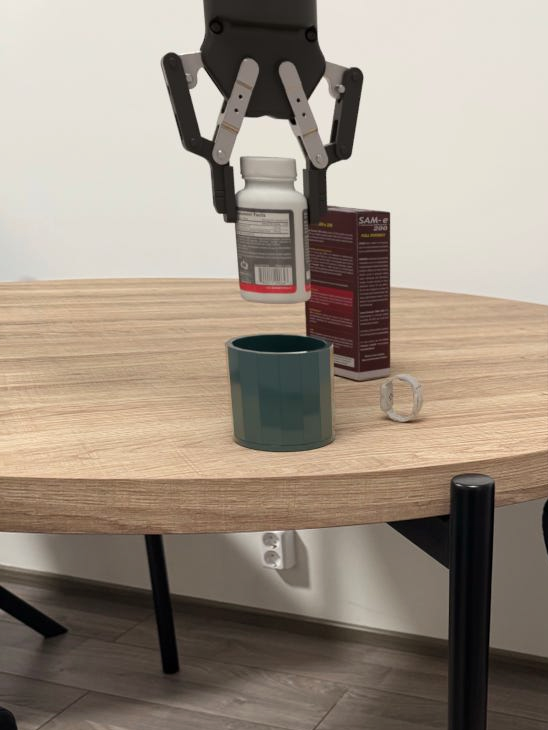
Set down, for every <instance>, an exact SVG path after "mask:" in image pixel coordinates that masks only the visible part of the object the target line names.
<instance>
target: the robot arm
mask: <svg viewBox="0 0 548 730" xmlns="http://www.w3.org/2000/svg"><path fill="white" fill-rule="evenodd" d="M202 5H203V6H202V7H203V15H204V16H203V18H204V36H203V40H202V43H201V45H200V47H199V50H198V51H192V52H185V53H176V52H173V51H172V52H171V51H170V52H167V53H165V54H164V55H163V56H162V57H161V59H160V68H161V71H162V75H163V80H164V83H165V86H166V90H167V94H168V98H169V100H170V105H171V109H172V113H173V116H174V120H175V123H176V124H175V125H176V128H177V131H178V134H179V139H180V142H181V145H182V148H183V149H184V150H185V151H187V152H188V153H191V154H194V155H196V156H199V157H200V158H202V159H204V160H205V161H206V162H207V163H208V166H209V169H210V182H211V184H210V185H211V195H212V205H213V208H214V210H215V212H216V214H219V215H222V217H223V222H224V223H226V224H235V223H237V215H236V200H235V194H236V187H235V173H234V171H235V169H234V166H233V165H231V162H230V159H231V157H232V156H231V155H232V153H233V150H234V147H235V143H236V141H237V137H238V134H239V133H240V131H241V128H242V125H243V121H244V118H249V119H250V118H252V119H257V118H262V117H268V118H271V119H274V120H283V121H286V120H287V122H288V124H289V126H290V129H291V132H292V133H293V135H294V137H295V139H296V140H297V143H298V145H299V149H300V151H301V153H302V156H303V158H304V160H305V168H302V191H303V193H302V194H303V195H304V196H305V198H306V200H307V206H308V225H319V217H325V215H326V212H327V205H328V185H327V172H328V169H329V168H330V166H331V165H333V164H336V163H338V162H341V161H347V160H349V159H350V158H351V156H352V155H353V149H354V142H355V137H356V130H357V123H358V118H359V110H360V104H361V97H362V90H363V85H364V79H365V78H364V72H363V71H362V70H361V68H359V67H357V66H350V67H346V66H343V65H340V64H336V63H334V62H330V61H326V58H325V55H324V54H323V53H324V52H322V49H321V46H320V41H319V33H318V32H319V30H318V29H319V28H318V0H202ZM202 68H203V70H204V71H205V73H206V74H207V76H208V77H209V79H210V80H211V81H212V83H213V84H214V85H215V87H216V88H217V91H219V93H220V95H221V96H222V97H223V100H222V103H221V106H220V110H219V113H218V116H217V118H216V119H217V120H216V124H215V127H214V128H215V129H214V131H213V135H212V138H211V140H210V139H208V138H206V137H204V136H202V133H201V130H200V127H199V121H198V120H197V119H198V118H197V114H196V112H195V106H194V103H193V99H192V95H191V91H190V90H193V89H194V88H196V87H197V85H198V72H199V71H200V69H202ZM322 79H325V80H326V82H327V85H328V86H327V87H328V94H329V96H330V97H331V98H332V99H334V100H335V101H334V108H333V115H332V121H331V129H330V135H329V142H328V143H325V144H324V143H323V141H322V138H321V135H320V133H319V130H318V129H319V128H318V124H317V121H316V119H315V116H314V113H313V111H312V109H311V106H310V103H309V100H310V99H311V97H312V95H313V94H314V92H315V90H316V89H317V87H318V85H320V83H321V81H322Z"/></svg>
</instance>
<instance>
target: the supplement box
mask: <svg viewBox="0 0 548 730" xmlns="http://www.w3.org/2000/svg"><path fill="white" fill-rule="evenodd" d="M308 235H309V261H310V284H311V297H310V299H309V300H307V301H305V302H304V314H305V316H304V317H305V335H307V336H314V337H319V338H322V339H326V340H329V341H330V342H331V343H332V344H333V356H334V376H335V375H337V376H339V377H343V378H348V379H351V380H355V381H358V382H360V381H368V380H369V381H370V380H374V379H375V380H376V379H380V378H385V377H390V376H391V212H390V211H384V210H375V209H365V208H356V207H345V206H339V205H328V204H327V212H326V215H325V217H319V225H308Z"/></svg>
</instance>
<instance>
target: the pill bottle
mask: <svg viewBox="0 0 548 730" xmlns="http://www.w3.org/2000/svg"><path fill="white" fill-rule="evenodd" d="M297 171H298V170H297V161H296V159H295V158H291V157H280V156H279V157H278V156H277V157H276V156H250V155H247V156H246V155H245V156H244V155H243V156H240V157H239V172H240V175H241V179H242V180H244V187H243V188H242V189H239V190H237V192H235V200H236V215H237V223H234V232H235V244H236V245H235V246H236V247H235V248H236V257H237V259H236V261H237V271H238V285H239V295H240V298H242V299H243V300H244V301H246V302H249V303H254V304H255V303H256V304H264V305H295V304H302V303H305V301H307V300H309V299H310V297H311V284H310V261H309V235H308V206H307V200H306V198H305V196H304V194H303V193H302V192H300V191H298V190H296V188H295V182H296V181H297V180H298V178H297V177H298V172H297ZM297 182H298V181H297Z"/></svg>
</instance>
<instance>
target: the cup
mask: <svg viewBox="0 0 548 730" xmlns="http://www.w3.org/2000/svg"><path fill="white" fill-rule="evenodd" d="M224 351H225V363H226V376H227V390H228V391H227V392H228V404H229V413H230V428H231V433H232V440H233V441H234V443H236V444H237V445H239V446H242V447H245V448H248V449H253V450H257V451H265V452H298V451H299V452H300V451H308V450H313V449H318V448H322V447H325V446H327V445H329V444H331V443H333V442H334V441H335V437H336V433H335V432H336V407H335V406H336V399H335V396H336V395H335V374H334V356H333V344H332V343H331V342H330V341H329V340H326V339H322V338H319V337H314V336H307V335H306V334H298V333H296V334H295V333H257V334H255V333H254V334H246V335H239V336H236V337H232V338H229V339H227V340H226V341H225V342H224Z"/></svg>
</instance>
